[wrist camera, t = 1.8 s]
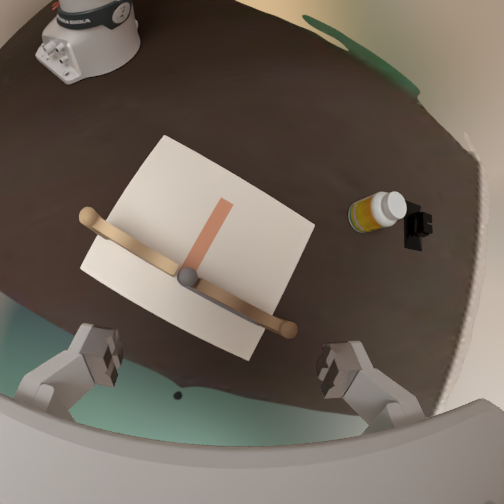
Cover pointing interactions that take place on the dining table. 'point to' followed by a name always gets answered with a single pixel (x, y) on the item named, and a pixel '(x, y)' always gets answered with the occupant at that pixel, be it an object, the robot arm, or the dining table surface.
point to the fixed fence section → (237, 304)
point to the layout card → (201, 245)
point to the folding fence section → (126, 241)
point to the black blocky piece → (416, 226)
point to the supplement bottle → (377, 211)
